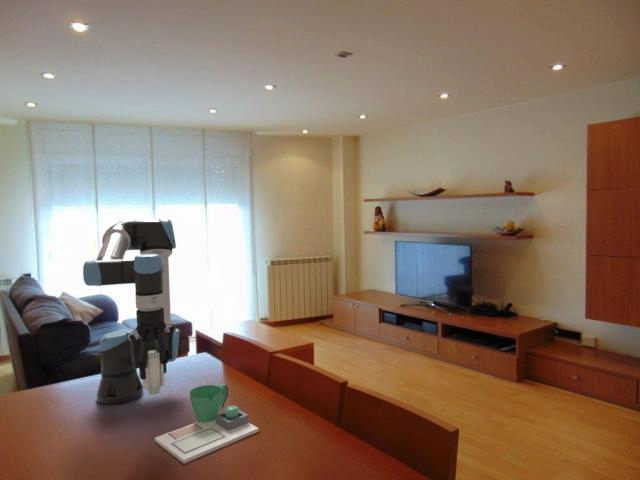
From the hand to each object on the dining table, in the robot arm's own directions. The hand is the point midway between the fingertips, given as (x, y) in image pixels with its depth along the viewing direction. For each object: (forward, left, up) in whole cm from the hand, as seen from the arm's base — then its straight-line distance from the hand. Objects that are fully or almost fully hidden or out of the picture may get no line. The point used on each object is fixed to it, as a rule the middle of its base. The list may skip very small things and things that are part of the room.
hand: (153, 386), depth 136 cm
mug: (+3, +17, -15) cm, 23 cm away
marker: (0, 0, -2) cm, 2 cm away
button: (+12, +18, -12) cm, 25 cm away
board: (+12, +10, -14) cm, 21 cm away
